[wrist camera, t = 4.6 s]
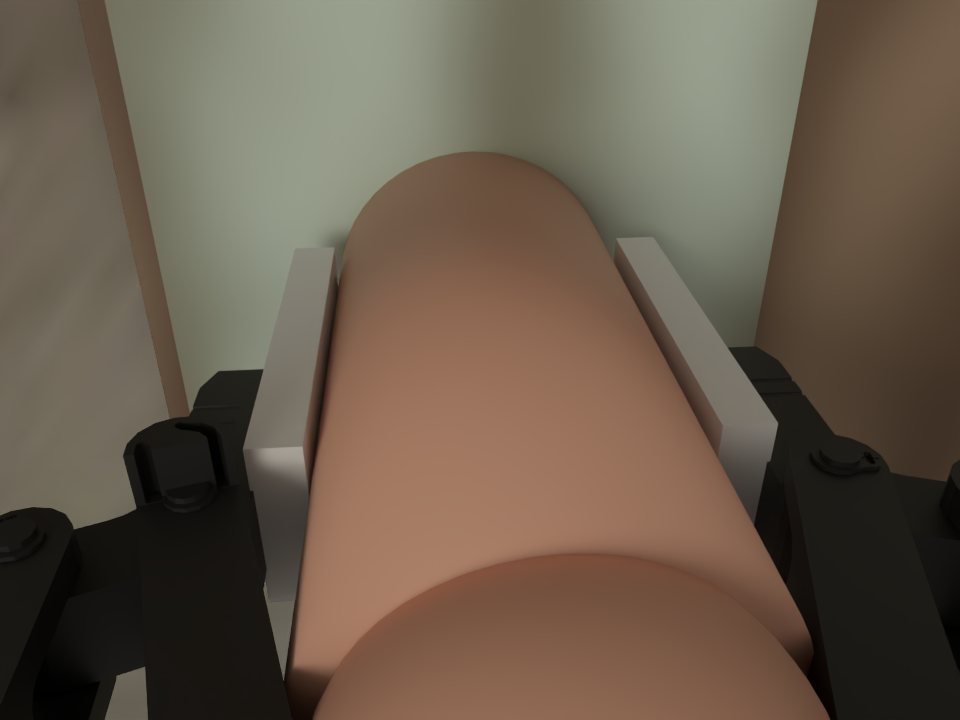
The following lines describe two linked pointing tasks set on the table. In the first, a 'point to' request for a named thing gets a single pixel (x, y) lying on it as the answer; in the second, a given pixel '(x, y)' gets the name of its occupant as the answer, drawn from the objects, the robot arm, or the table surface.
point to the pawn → (520, 485)
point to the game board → (567, 166)
